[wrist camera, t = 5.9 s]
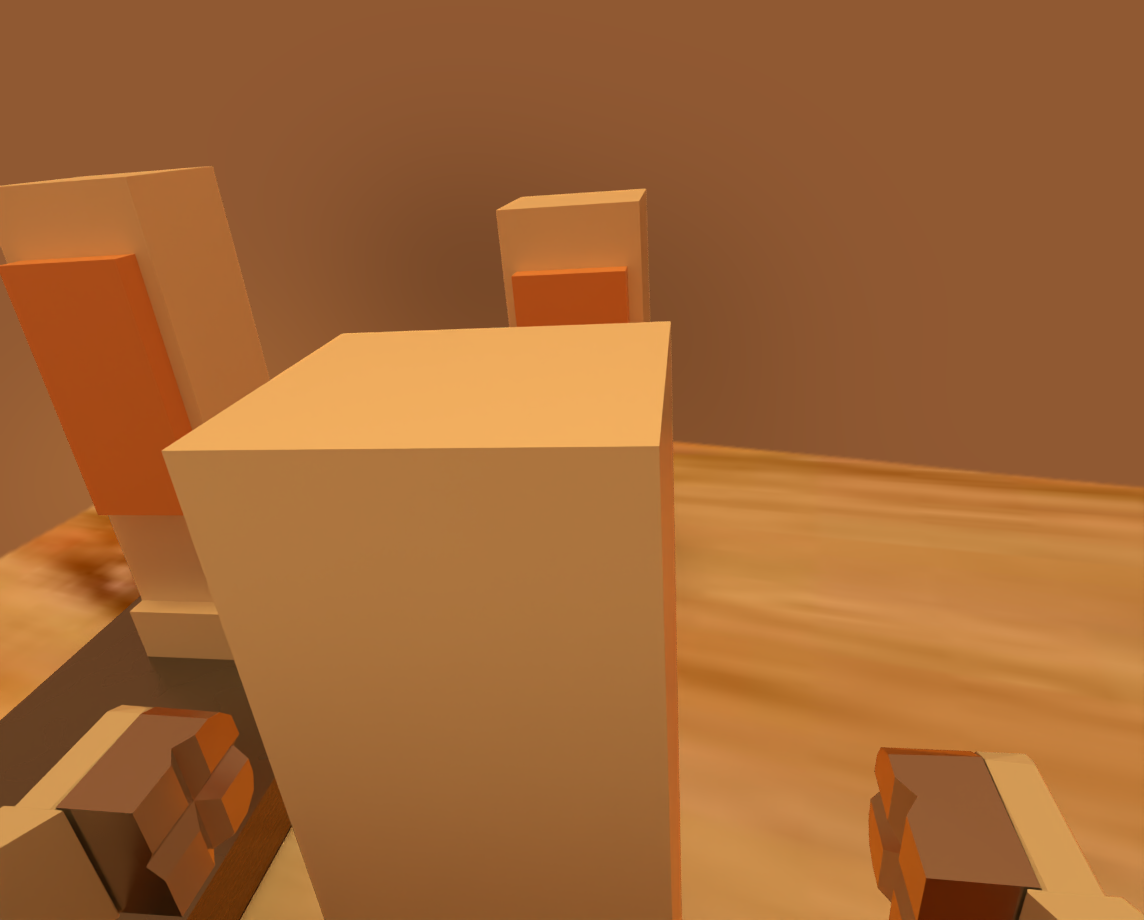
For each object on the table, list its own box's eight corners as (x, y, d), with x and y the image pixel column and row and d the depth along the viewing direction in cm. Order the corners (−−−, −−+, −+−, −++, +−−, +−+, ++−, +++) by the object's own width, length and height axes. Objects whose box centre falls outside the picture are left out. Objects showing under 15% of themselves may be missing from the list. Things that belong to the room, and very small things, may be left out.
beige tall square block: (683, 979, 13) (671, 306, 8) (681, 1323, 9) (654, 481, 4) (492, 957, 13) (364, 318, 8) (418, 1274, 10) (110, 483, 5)
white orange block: (658, 551, 25) (647, 186, 20) (652, 625, 22) (637, 204, 17) (559, 549, 26) (525, 194, 21) (538, 622, 22) (489, 213, 17)
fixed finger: (331, 574, 23) (224, 164, 18) (263, 663, 19) (103, 179, 14) (230, 572, 23) (98, 174, 18) (145, 658, 20) (-50, 191, 15)
